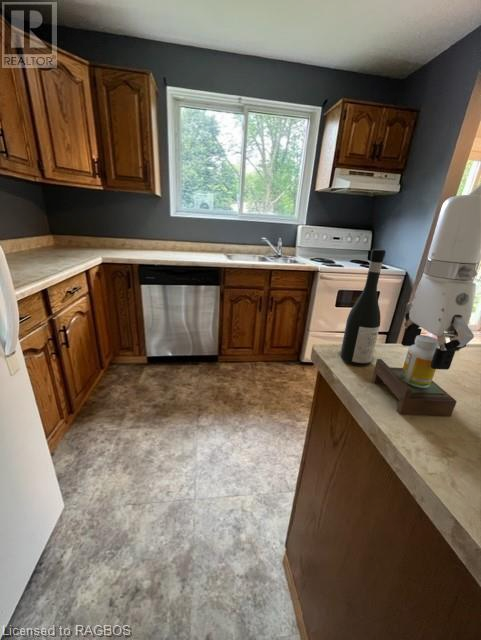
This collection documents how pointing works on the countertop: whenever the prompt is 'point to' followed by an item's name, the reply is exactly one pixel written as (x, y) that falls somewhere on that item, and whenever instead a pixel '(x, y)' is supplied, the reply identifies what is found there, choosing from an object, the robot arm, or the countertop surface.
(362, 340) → the wine bottle
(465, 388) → the countertop surface
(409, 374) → the supplement bottle
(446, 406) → the wooden jewelry box
